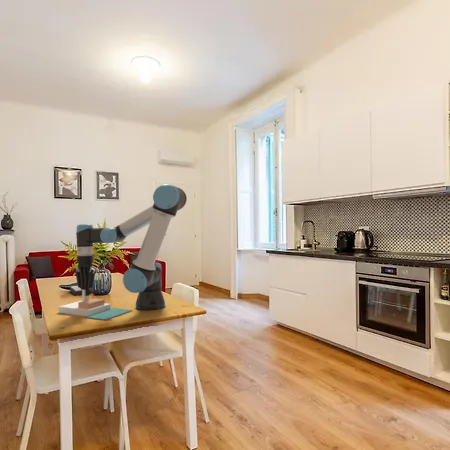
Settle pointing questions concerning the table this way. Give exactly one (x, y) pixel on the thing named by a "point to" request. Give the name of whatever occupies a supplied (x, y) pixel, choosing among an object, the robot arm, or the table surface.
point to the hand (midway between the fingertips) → (85, 302)
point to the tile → (91, 303)
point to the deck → (82, 309)
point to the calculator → (77, 290)
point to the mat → (108, 314)
